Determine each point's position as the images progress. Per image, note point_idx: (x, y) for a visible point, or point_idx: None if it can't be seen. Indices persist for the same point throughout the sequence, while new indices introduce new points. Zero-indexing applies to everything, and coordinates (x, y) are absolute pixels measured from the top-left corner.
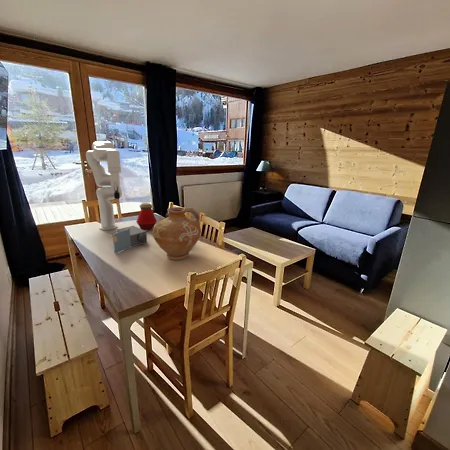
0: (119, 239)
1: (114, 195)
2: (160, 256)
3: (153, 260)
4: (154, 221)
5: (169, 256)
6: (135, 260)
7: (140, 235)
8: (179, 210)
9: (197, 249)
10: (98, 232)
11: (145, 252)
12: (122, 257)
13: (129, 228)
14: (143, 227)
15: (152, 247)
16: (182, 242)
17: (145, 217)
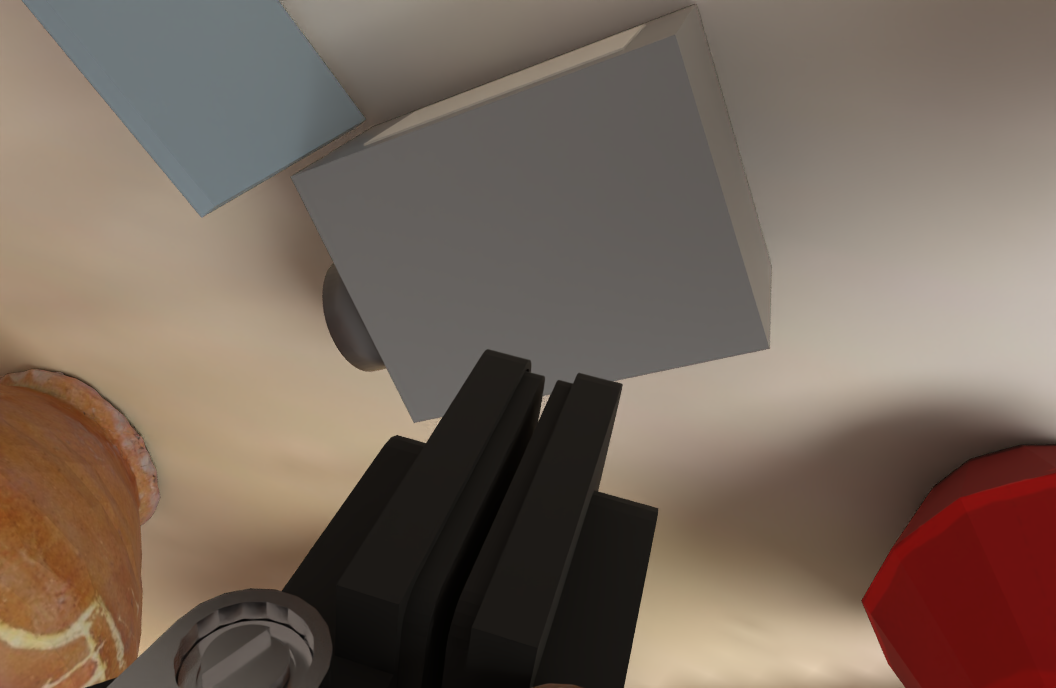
0: None
1: (423, 465)
2: (79, 327)
3: (5, 245)
4: (894, 670)
5: (13, 384)
6: (14, 90)
7: (331, 311)
8: None
9: (175, 614)
10: None
11: (187, 235)
12: None
13: (203, 216)
14: (960, 479)
15: (300, 338)
16: None
17: (962, 637)
